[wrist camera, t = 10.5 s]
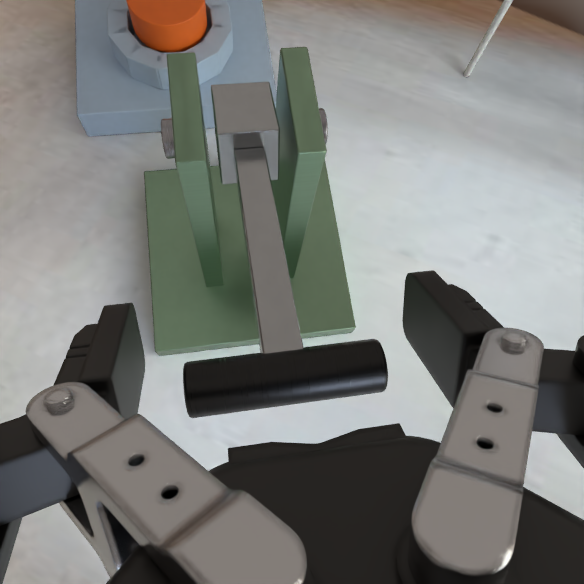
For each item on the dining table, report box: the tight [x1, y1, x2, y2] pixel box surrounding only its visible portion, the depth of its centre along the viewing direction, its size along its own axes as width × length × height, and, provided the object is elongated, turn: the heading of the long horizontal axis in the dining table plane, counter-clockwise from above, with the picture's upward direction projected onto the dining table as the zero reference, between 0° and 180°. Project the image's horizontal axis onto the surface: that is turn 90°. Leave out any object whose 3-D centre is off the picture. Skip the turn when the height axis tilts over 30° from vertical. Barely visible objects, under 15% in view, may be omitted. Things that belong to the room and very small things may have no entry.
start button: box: [126, 0, 207, 52], centre depth 30 cm, size 4×4×2 cm
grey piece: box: [75, 0, 277, 136], centre depth 32 cm, size 12×10×4 cm
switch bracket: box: [144, 47, 356, 356], centre depth 24 cm, size 11×11×14 cm
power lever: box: [183, 82, 388, 418], centre depth 16 cm, size 12×5×2 cm, turn 7°
